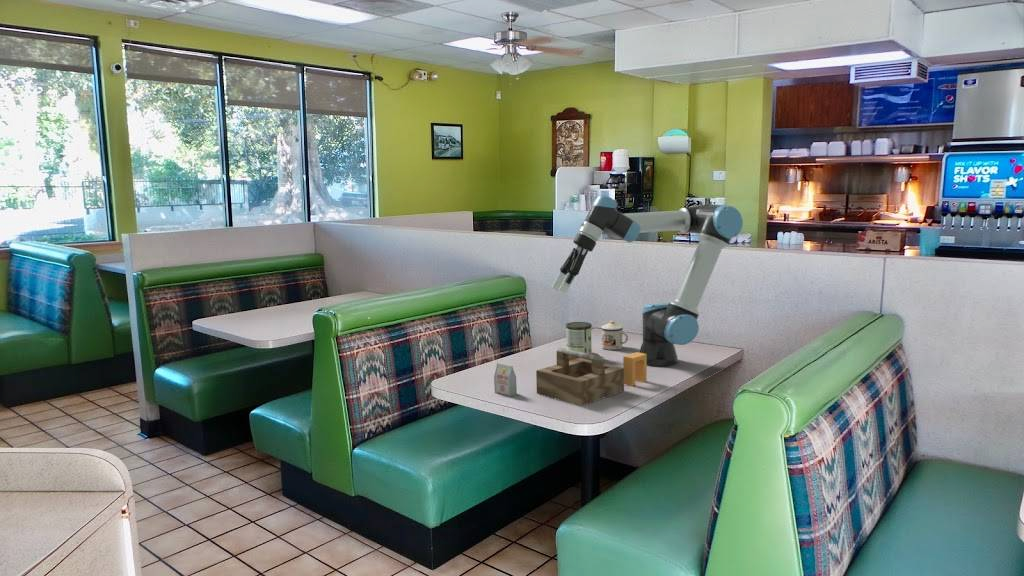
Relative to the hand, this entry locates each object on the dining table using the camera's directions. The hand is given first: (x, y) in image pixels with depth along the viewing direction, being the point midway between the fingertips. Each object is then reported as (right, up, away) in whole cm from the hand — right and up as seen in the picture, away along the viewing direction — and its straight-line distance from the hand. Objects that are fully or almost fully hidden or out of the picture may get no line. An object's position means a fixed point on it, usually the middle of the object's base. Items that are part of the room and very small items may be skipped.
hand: (558, 290), depth 245 cm
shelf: (+7, -34, -6) cm, 36 cm away
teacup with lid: (+28, -25, +54) cm, 65 cm away
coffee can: (+11, -28, +38) cm, 48 cm away
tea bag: (-18, -35, -5) cm, 40 cm away
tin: (+10, -32, +14) cm, 36 cm away
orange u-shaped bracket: (+27, -33, +3) cm, 43 cm away
